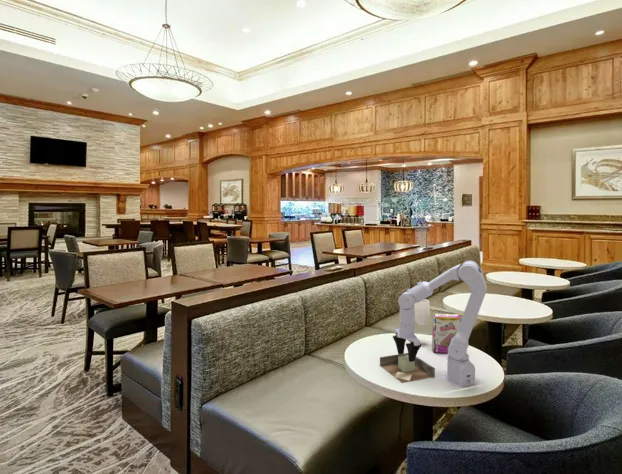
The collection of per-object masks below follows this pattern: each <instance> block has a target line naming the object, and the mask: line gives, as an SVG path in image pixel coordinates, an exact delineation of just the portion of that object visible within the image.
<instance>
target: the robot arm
mask: <svg viewBox="0 0 622 474" xmlns="http://www.w3.org/2000/svg"><path fill="white" fill-rule="evenodd" d="M460 280H462V281H463V282H464V283H465V284H466V285H467V286H468V288H469V290H470V291H471V292H470V295H469V298H468V300H467V302H466V306H465V309H464V311H463V314H462V317H461V322H460V325H459V328H458V330H457V333H456V335H455V336H454V337H453V338H452V339H451V342H450V345H449V346H448V353H447V368H446V369H447V370H446V371H447V373H446V374H445V375H441V376H442V378H444V379H446V380H447V381H448V382H449V383H452V384H453V385H454V386H456V387H458V388H463V387H467V386H472V385H473V386H474V385H477V382H476V367H475V365H474V364H473V363H472V362H471V360H470V359H469V358H470V356H469V354H468V353H467V351H468V349H469V339H470V337H471V334H472V331H473V328H474V325H475V323H476V319H477V317H478V314H479V312H480V309H481V307H482V304H483V301H484V299H485V296H486V293H487V290H488V287H487V284H486V283H487V282H486V280H485V276H484V274H483V270H482V268H481V267H480V265H479V264H478V263H477V262H476V261H474V260H466V261H464V262H462V264H461V263H460V264H457V265H455V266H453V267H450V268H449V269H448V270H446V271H444V272H442V273H441V274H440V275H437V277H435V278H434V279H432V280H430V281H429V282H428V281H419V282H417V285H415V286H413V287H412V288H407V289H406V291H404V292H402V294H401V295H400V296H398V300H397V303H398V305H399V310H398V311H399V315H398V316H399V317H398V318H399V319H398V320H399V323H398V324H399V325H398V328H394V335H393V336H392V339H393V341H394V343H395V345H396V350H397V354H404V353H405V348H406V349H407V353H408V358H409V361H410V362H413V361H415V358H416V357H417V354H418V352H419V350H420V349H421V347H422V344H421V340H420V339H419V337H417V336H416V334H415V323H416V321H415V311H414V307H415V305H414V304H415V303H418V302H420V301H422V300H424V299H427V298H429V297H430V296H432V295H433V294H434V290H435V289H437V288H439V287H441V286H442V285H445V284H447V283H448V282H450V281H460ZM407 341H408V342H409V343H406V342H407ZM405 346H406V347H405Z"/></svg>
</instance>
